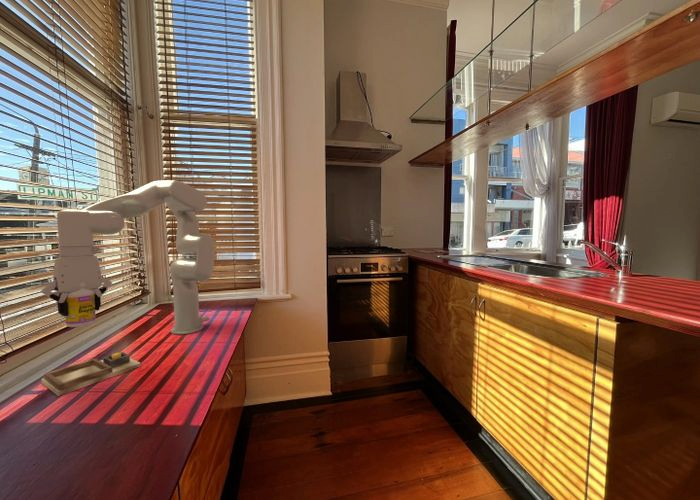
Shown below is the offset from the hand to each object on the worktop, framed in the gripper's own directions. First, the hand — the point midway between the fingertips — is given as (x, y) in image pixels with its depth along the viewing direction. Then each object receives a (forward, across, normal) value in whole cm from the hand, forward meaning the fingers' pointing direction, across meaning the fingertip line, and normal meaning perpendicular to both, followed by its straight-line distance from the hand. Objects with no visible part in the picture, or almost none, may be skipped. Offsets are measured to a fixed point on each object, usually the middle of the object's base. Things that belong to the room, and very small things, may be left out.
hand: (80, 311), depth 89 cm
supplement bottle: (+4, 0, 0) cm, 4 cm away
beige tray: (+20, -2, 0) cm, 20 cm away
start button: (+19, -8, 0) cm, 20 cm away
